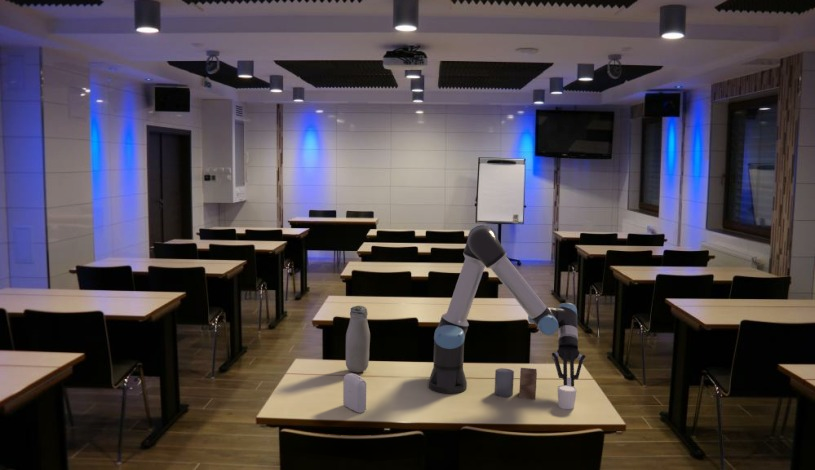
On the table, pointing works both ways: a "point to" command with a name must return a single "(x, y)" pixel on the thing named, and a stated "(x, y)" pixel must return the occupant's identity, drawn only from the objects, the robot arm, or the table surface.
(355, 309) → the grey bottle
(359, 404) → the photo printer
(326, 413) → the table surface
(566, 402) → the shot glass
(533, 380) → the walnut block
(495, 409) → the table surface
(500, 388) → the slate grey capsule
